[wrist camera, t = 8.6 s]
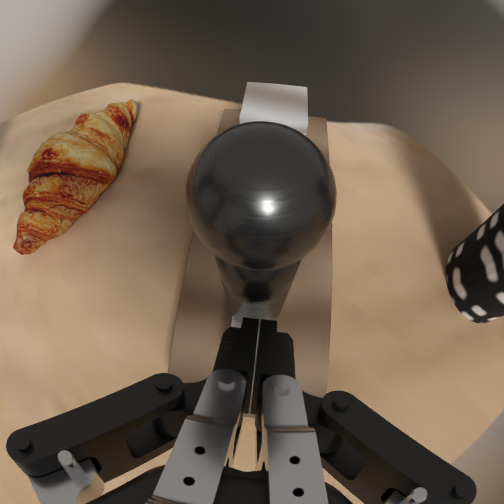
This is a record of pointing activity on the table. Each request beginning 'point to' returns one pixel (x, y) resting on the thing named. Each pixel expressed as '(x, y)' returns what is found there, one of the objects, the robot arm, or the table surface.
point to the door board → (304, 284)
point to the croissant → (72, 173)
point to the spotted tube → (479, 271)
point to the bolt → (260, 211)
